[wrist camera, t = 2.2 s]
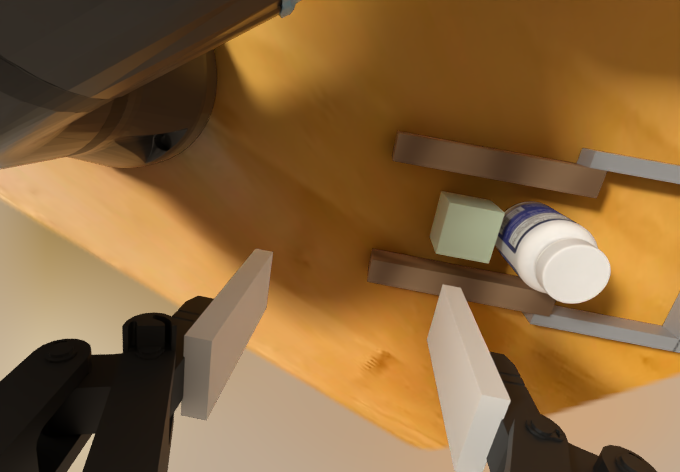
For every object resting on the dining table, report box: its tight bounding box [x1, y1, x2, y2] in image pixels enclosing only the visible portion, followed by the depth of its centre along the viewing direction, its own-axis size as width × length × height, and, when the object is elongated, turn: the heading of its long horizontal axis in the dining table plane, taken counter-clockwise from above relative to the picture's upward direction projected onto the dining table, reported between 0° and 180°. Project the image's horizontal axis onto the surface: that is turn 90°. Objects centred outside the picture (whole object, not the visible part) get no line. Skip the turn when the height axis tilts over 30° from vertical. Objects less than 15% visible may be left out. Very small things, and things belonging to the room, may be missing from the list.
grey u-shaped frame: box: [522, 148, 680, 353], centre depth 31 cm, size 13×14×2 cm
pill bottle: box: [495, 202, 611, 304], centre depth 28 cm, size 5×5×9 cm
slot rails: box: [367, 131, 607, 317], centre depth 32 cm, size 15×12×2 cm
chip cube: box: [429, 191, 505, 264], centre depth 31 cm, size 4×4×4 cm
